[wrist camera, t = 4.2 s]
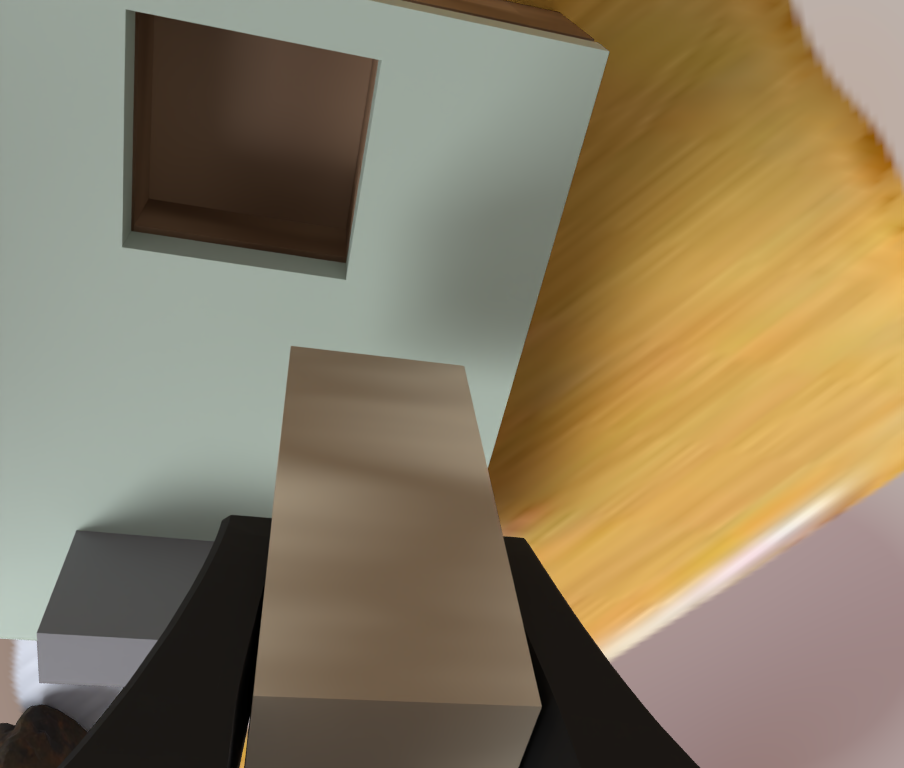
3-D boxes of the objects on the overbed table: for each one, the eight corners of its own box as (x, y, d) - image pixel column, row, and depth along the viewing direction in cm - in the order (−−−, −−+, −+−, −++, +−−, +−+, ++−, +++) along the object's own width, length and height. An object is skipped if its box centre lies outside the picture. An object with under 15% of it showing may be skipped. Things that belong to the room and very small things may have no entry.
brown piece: (3, 522, 24) (-37, 601, 22) (-45, -122, 16) (-118, -115, 13) (419, 556, 26) (427, 631, 24) (559, 12, 18) (593, 39, 16)
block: (275, 484, 16) (234, 862, 10) (290, 345, 14) (253, 695, 8) (433, 497, 16) (481, 862, 11) (463, 365, 15) (541, 706, 9)
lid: (-41, 610, 21) (-108, 745, 18) (-126, -113, 13) (-275, -99, 10) (428, 639, 24) (441, 763, 21) (597, 42, 16) (663, 93, 12)
